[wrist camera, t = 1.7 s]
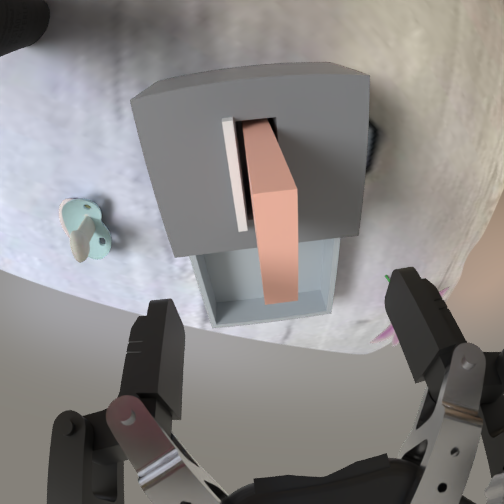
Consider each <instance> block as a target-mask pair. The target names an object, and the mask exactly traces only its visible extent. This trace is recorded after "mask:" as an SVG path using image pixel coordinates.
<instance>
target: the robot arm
mask: <svg viewBox="0 0 504 504" xmlns="http://www.w3.org/2000/svg"><path fill="white" fill-rule="evenodd" d="M385 309H386V312H387V315H388V317H389V319H390V321H391V324H392V326H393V328H394V331H395V333H396V335H397V338H398V340H399V343H400V345H401V347H402V350H403V352H404V355H405V357H406V360H407V362H408V365H409V368H410V370H411V373H412V375H413V378H414V381H415V383H419V382H421V381H426V384H427V387H426V389H425V392H424V395H423V398H422V401H421V404H420V407H419V410H418V413H417V416H416V419H415V422H414V425H413V427H412V430H411V432H410V434H409V436H408V437H407V438H406V440H405V442H404V443H403V445H402V447H401V449H400V451H399V454H398V456H397V458H388V456H387V453H386V454H382V455H379V456H376V457H372V458H368V459H365V460H361V461H357V462H355V463H353V464H351V465H349V466H347V467H345V468H343V469H341V470H339V471H337V472H334V473H332V474H330V475H328V476H325V477H307V476H294V475H284V476H275V477H267V478H255V479H254V483H252V484H248V485H246V486H244V487H242V488H240V489H238V490H237V491H235V492H233V493H232V494H231V495H228V494H227V493H226V491H225V490H224V489H223V488H222V487H221V486H220V485H219V484H218V483H217V482H216V481H215V480H214V479H213V478H212V477H211V476H210V475H209V474H208V473H207V472H206V471H205V470H204V469H203V468H202V467H201V466H200V465H199V464H198V463H197V462H196V460H195V459H194V458H193V457H192V456H191V454H190V453H189V452H188V451H187V449H186V448H185V447H184V446H183V445H182V443H181V442H180V441H179V440H178V438H177V437H176V436H175V435H174V433H173V432H172V431H171V430H172V420H181V410H182V409H181V408H182V384H183V364H184V349H185V332H184V326H183V323H182V321H181V319H180V316H179V314H178V312H177V309H176V307H175V305H174V302H173V300H172V299H162V300H151V301H150V303H149V307H148V312H147V316H139V317H138V318H137V320H136V322H135V323H134V325H133V326H132V328H131V332H130V337H129V344H128V347H127V354H126V358H125V363H124V369H123V375H122V381H121V387H120V392H119V395H118V397H117V398H116V399H115V400H113V401H112V402H111V404H110V405H109V406H108V408H107V409H105V410H103V411H99V412H96V413H92V414H88V415H85V416H81V415H80V414H79V413H77V412H75V411H72V410H69V411H64V412H62V413H61V414H60V415H58V417H57V418H56V419H55V421H54V424H53V429H52V437H51V446H50V456H49V468H48V485H47V504H124V466H123V465H124V461H125V460H129V461H130V462H131V464H132V465H133V467H134V469H135V470H136V472H137V473H138V476H139V479H138V482H139V484H140V486H141V488H142V489H143V491H144V493H145V494H146V495H147V497H148V498H149V499H150V501H151V502H152V503H153V504H476V503H474V502H472V501H471V500H469V499H467V498H466V497H464V496H463V495H462V494H463V491H464V488H465V486H466V483H467V480H468V477H469V474H470V471H471V468H472V464H473V461H474V458H475V454H476V451H477V447H478V443H479V440H480V435H482V439H483V443H484V446H485V451H486V455H487V459H488V463H489V468H490V473H491V478H492V479H491V481H490V483H489V486H488V487H487V488H486V489H485V492H484V495H485V497H486V498H487V503H486V504H504V395H503V394H504V349H503V351H502V352H482V350H481V349H480V348H479V347H478V346H476V345H474V344H472V343H467V341H466V340H465V338H464V336H463V334H462V332H461V331H460V329H459V327H458V325H457V323H456V321H455V319H454V318H453V316H452V314H451V312H450V310H449V309H447V305H446V303H445V302H444V300H442V296H441V295H440V293H439V291H438V290H437V288H436V287H435V286H434V285H433V284H432V283H431V282H429V281H428V280H427V279H426V278H425V279H421V277H420V276H419V274H418V272H417V271H416V269H415V268H414V267H407V268H401V269H395V270H394V271H393V272H392V275H391V279H390V282H389V286H388V289H387V292H386V296H385Z"/></svg>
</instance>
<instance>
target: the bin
mask: <svg viewBox="0 0 504 504" xmlns="http://www.w3.org/2000/svg"><path fill="white" fill-rule="evenodd" d="M339 247H340V238H333V239H325V240H316V241H308V242H300V243H298V301H291V302H283V303H276V304H268V305H265V301H264V293H263V285H262V278H261V270H260V262H259V255H258V248H250V249H242V250H234V251H226V252H217V253H209V254H201V255H193V256H189V257H190V260H191V264H192V267H193V270H194V273H195V277H196V280H197V283H198V286H199V289H200V292H201V295H202V299H203V302H204V305H205V308H206V311H207V314H208V317H209V320H210V323H211V326H212V328H221V327H231V326H241V325H250V324H258V323H267V322H275V321H282V320H290V319H297V318H304V317H311V316H318V315H324V314H331V312H332V305H333V297H334V290H335V282H336V274H337V266H338V257H339Z"/></svg>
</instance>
